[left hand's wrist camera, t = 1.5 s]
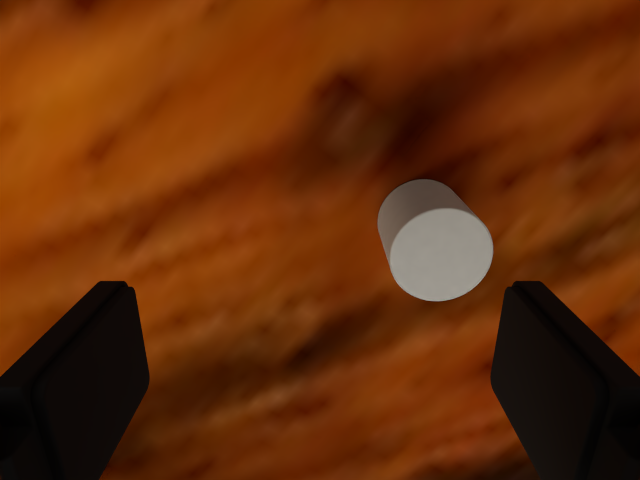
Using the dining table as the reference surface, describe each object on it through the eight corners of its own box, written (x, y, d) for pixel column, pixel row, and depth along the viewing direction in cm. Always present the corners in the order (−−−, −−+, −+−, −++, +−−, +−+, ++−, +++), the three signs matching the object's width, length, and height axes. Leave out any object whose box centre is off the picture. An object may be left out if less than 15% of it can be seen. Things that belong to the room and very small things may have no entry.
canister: (365, 245, 23) (374, 286, 19) (395, 167, 21) (412, 194, 17) (441, 267, 24) (467, 312, 19) (476, 193, 22) (512, 225, 18)
